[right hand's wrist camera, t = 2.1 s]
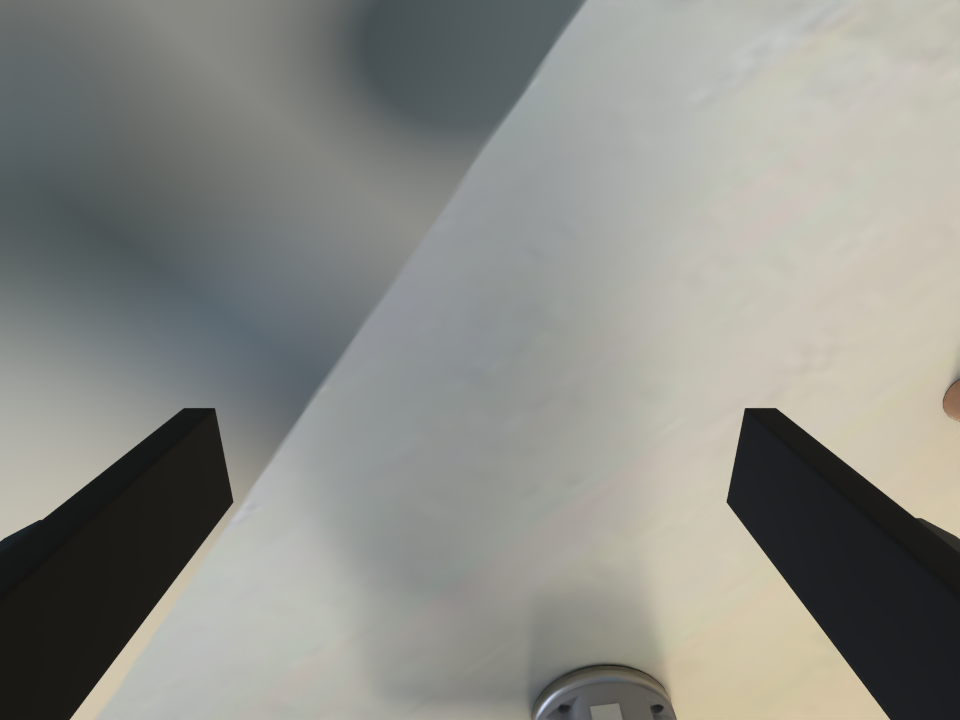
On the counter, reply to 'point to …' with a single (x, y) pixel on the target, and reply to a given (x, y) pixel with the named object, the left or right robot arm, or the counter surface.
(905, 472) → the counter surface
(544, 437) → the counter surface
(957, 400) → the jar
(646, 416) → the counter surface
